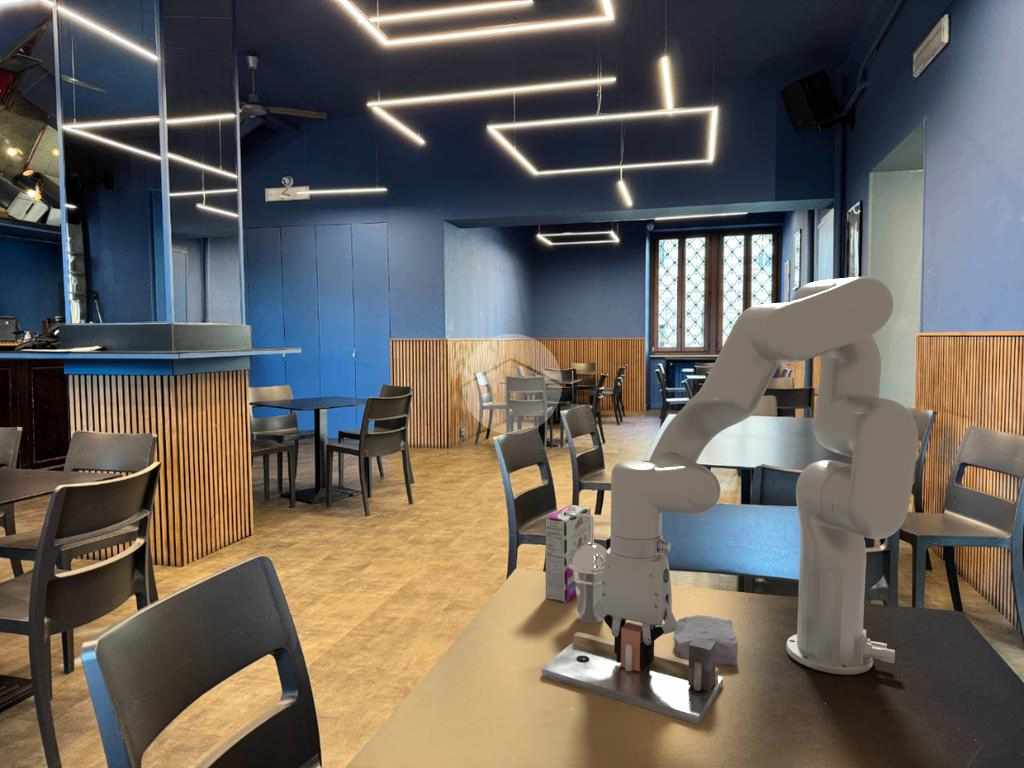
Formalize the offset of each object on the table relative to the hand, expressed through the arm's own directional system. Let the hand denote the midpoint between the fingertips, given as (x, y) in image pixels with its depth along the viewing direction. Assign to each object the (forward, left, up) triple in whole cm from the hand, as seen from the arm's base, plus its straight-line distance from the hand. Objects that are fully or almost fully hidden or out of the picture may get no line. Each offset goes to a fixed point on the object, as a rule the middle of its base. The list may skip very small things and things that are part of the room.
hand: (633, 661), depth 104 cm
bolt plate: (0, +2, -2) cm, 3 cm away
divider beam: (0, 0, -1) cm, 1 cm away
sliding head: (0, 0, -1) cm, 1 cm away
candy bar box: (+24, -24, -2) cm, 34 cm away
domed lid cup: (+15, -15, -2) cm, 21 cm away
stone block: (-6, -15, -3) cm, 16 cm away
